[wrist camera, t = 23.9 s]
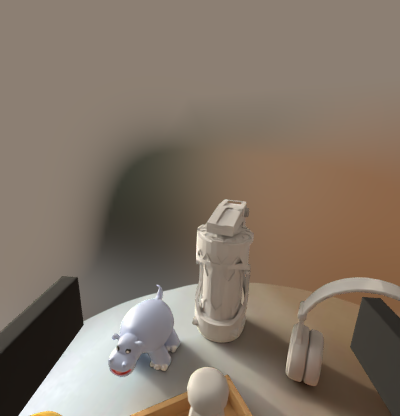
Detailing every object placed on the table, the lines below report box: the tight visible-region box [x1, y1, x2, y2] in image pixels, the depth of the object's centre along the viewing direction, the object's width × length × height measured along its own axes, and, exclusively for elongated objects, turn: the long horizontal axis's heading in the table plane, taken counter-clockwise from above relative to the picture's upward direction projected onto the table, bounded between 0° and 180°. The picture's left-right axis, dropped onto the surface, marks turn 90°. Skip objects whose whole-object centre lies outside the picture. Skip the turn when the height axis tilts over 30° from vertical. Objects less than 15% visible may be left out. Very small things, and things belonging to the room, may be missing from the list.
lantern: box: [192, 199, 254, 343], centre depth 50 cm, size 13×10×25 cm
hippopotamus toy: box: [108, 285, 180, 377], centre depth 43 cm, size 11×15×10 cm
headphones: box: [286, 278, 400, 386], centre depth 36 cm, size 20×8×19 cm, turn 64°
